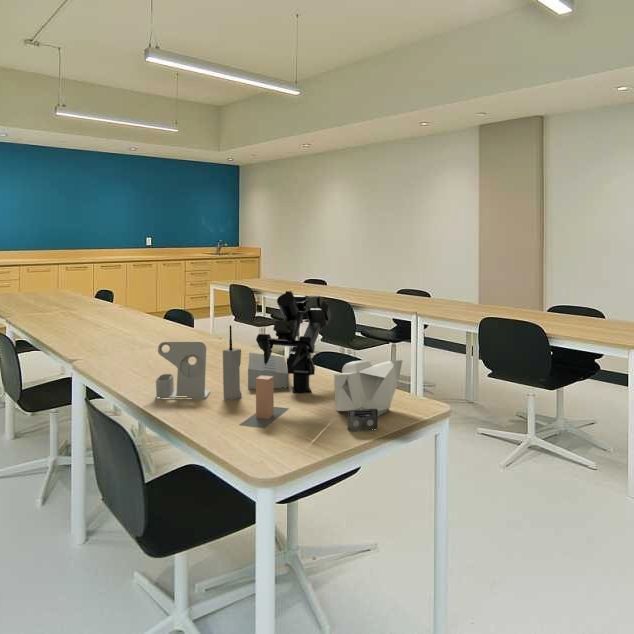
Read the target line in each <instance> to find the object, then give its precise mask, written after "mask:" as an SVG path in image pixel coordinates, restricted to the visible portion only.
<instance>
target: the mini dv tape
mask: <svg viewBox="0 0 634 634" xmlns="http://www.w3.org/2000/svg"><path fill="white" fill-rule="evenodd" d="M378 418H379V417H378V410H377V409H362V408H361V409H358V410H348V411H347V431H348V430H349V431H348V432H358V431H357V430H371V431H375V430H374V429H377V430H378V421H379V420H378ZM372 429H373V430H372Z"/></svg>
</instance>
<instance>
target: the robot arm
mask: <svg viewBox="0 0 634 634" xmlns="http://www.w3.org/2000/svg"><path fill="white" fill-rule="evenodd" d="M323 299H324V298H323V297H322V296H320V295H306V294H305V295H302V294H293V292H292V291H289V290H286V291H285V293H282V294H280V295H279V296H278V297H277V300H276V303H277V306H278V307H279V310H280V312H281V315H282V316H284V319H283V320H277V319H275V320H274V324H273V328H272V329H273V330H272V331H275V336H276V337H277V338H275V337H274V338H272V336H271V334H270V333H258V335H257V336H256V339H255V341H256V343H257V345H258V347H259V348H260V349H259V350H262V351H263V354H264V363H265V364H267V363H268V360H269V358H270V355H272V352H273V347H274V346H283V347H292V348H291V351H290V352H289V356H288V357H287V358H286V366H287V370H288V375H289V374H290V375H291V374H292V375H293V377H292V378H293V379H292V381H293V383H292V385H293V386H291V391H292V393H312V389H311V387H310V376H312V375H313V376H314V375H315V373H316V372H315V371H316V366H315V364H314V362H313V358H312V354H313V353H314V352H315V348H316V346H315V343H316V342H317V339H318V337H319V334H320V331H321V330H322V329H323V328H326V327H327V325H328V324H329V322H330V321H331V318H332V314H331V310H330V306H329V304H327V303H326V302H325V301H324V300H323ZM316 307H317V308H316ZM318 307H319V308H318ZM303 313H305V315H306V317H307V320H308V325H307V327H306V329H305V332H304V334H303V335H302V336H301V335H300V333H299V330H300V327H301V324H303V322H304V321H303ZM297 337H299V338H298V340H297Z"/></svg>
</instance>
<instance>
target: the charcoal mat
mask: <svg viewBox="0 0 634 634" xmlns="http://www.w3.org/2000/svg"><path fill="white" fill-rule="evenodd" d="M288 410H290V408H289V407H279V406H274V415H273V416H272V417H271V418H269V419H264V418H256V412H255V413H254V414H251V416H249V417H248V418H246V420H243V422H241V423H240V424H239V426H243V427H250V428H251V427H252V428H260V429H265V428H267V427H268V426H269V425H270V424H272V423H273V422H274V421H276V420H277V419H278V418H279V417H281V416H282V415H284V414H285V412H287V411H288Z"/></svg>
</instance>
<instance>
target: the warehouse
mask: <svg viewBox="0 0 634 634" xmlns="http://www.w3.org/2000/svg"><path fill="white" fill-rule="evenodd" d="M248 355H249V356H248V366H247V367H248V368H247V383H248V384H247V388H248V390H249V389H252V390H253V389H254V390H256V378H258V377H259V376H261V375H262V376H273V386H274V389H282V388H281V387H284V388H283V389H288V388H289V374H288V369H287V360H286V358H285V356H281V355H272V354H271V355H270V358H269V360H268V363H267V364H265V363H264V353H255V352H249V354H248ZM287 387H288V388H287Z"/></svg>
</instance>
